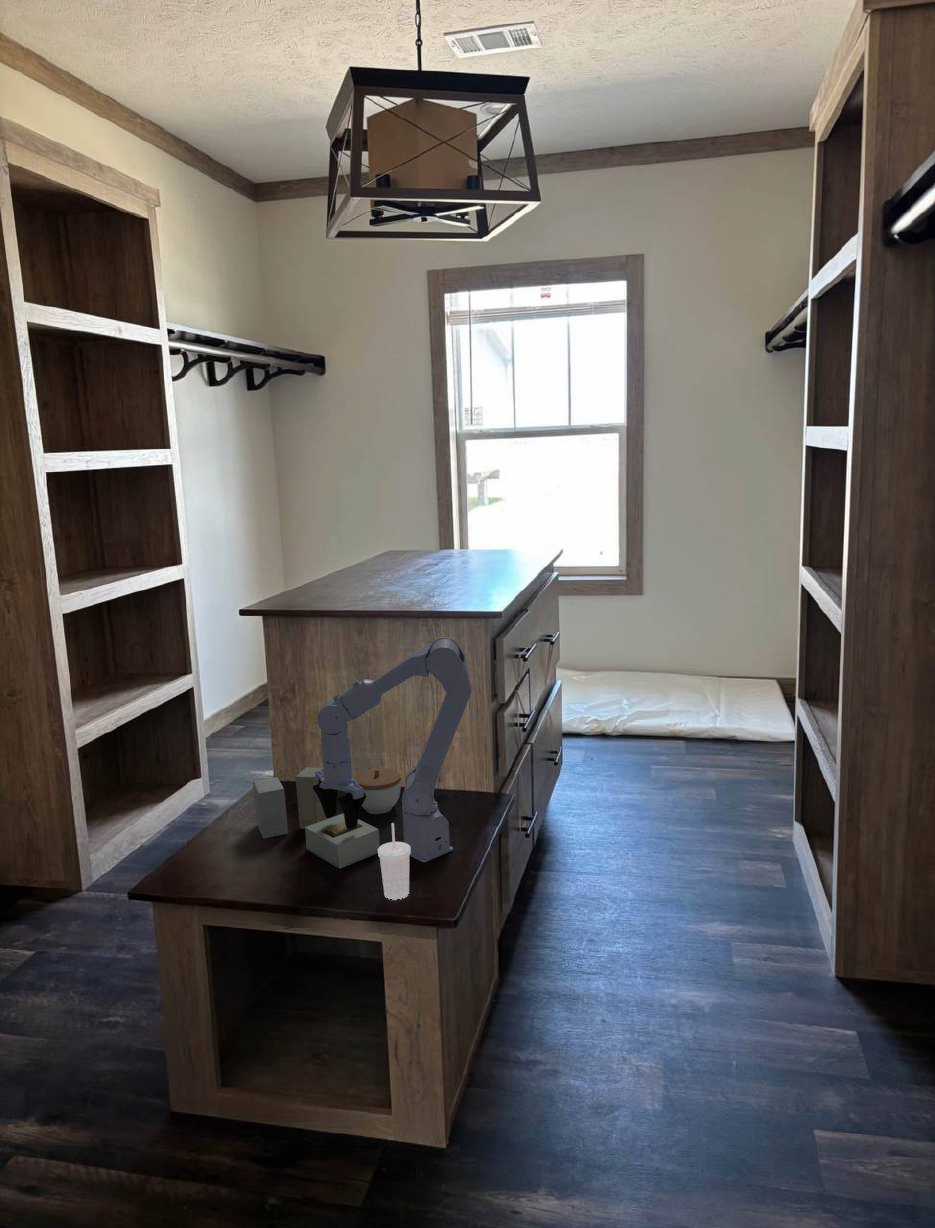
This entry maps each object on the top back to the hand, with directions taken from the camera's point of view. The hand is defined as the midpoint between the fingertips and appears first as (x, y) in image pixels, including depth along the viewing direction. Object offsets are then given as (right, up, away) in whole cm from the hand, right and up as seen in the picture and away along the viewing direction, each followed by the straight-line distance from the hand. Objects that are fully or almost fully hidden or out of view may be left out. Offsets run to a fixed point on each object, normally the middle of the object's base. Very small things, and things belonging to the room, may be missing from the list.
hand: (341, 822), depth 184 cm
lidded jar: (+6, -2, +22) cm, 23 cm away
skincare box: (-8, -4, +15) cm, 18 cm away
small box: (-17, -5, +13) cm, 22 cm away
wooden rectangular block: (0, -6, +1) cm, 6 cm away
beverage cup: (+13, -10, -17) cm, 23 cm away
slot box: (0, -6, +1) cm, 6 cm away
